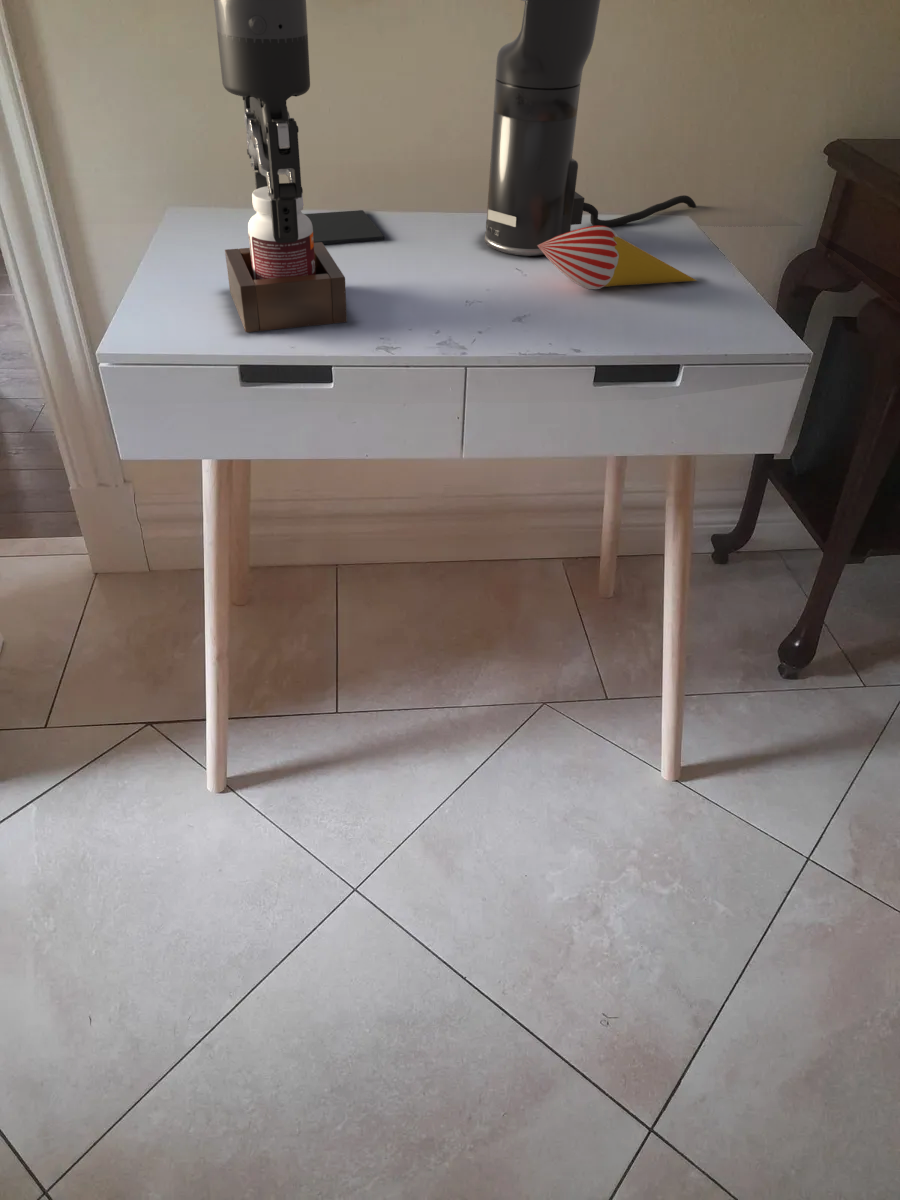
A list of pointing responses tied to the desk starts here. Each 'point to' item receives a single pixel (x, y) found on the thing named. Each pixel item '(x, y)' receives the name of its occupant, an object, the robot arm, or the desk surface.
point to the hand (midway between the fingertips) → (277, 226)
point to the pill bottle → (279, 256)
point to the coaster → (343, 227)
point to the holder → (287, 294)
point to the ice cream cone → (606, 260)
